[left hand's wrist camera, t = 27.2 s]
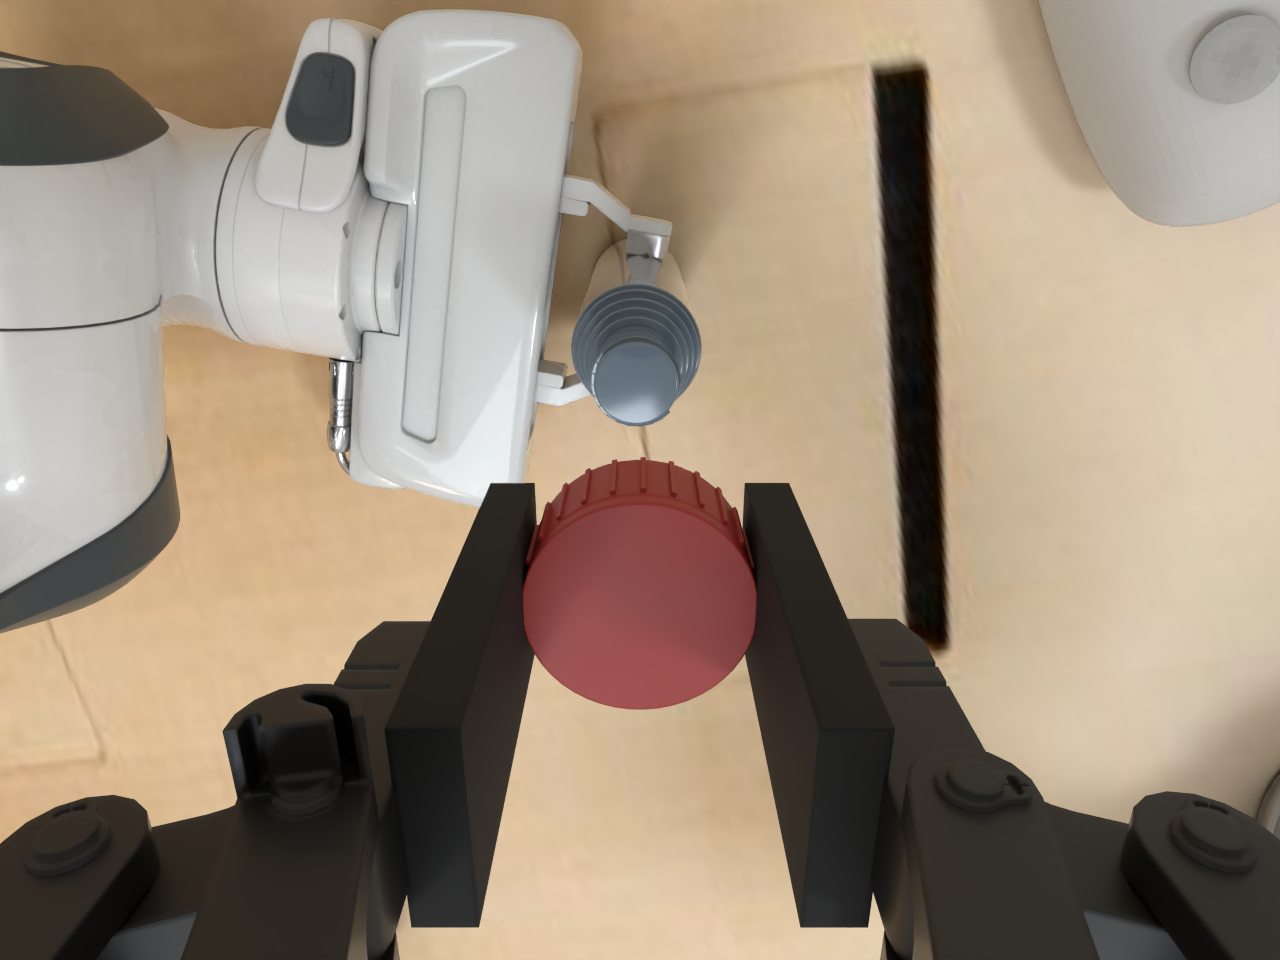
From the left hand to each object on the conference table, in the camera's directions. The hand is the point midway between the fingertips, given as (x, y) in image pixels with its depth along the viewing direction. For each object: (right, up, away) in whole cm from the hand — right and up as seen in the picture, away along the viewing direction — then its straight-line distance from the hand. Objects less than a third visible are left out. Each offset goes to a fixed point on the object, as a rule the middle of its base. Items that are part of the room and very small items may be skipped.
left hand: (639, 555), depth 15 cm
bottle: (0, +11, +27) cm, 29 cm away
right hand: (+1, +9, +22) cm, 23 cm away
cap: (0, -1, -2) cm, 2 cm away
